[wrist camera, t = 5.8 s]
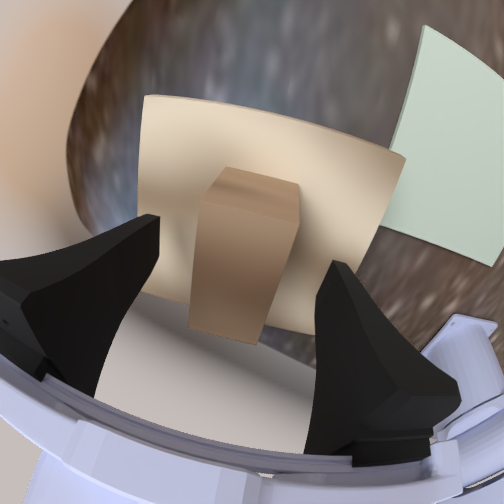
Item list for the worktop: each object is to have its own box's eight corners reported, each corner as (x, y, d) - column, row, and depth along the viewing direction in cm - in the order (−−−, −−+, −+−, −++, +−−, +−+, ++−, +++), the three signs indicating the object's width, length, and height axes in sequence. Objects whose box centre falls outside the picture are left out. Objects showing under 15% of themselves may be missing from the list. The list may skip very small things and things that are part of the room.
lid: (319, 326, 16) (320, 386, 13) (146, 282, 16) (115, 333, 13) (399, 154, 10) (445, 190, 7) (153, 94, 10) (93, 106, 7)
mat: (489, 264, 16) (491, 266, 16) (362, 216, 16) (363, 219, 16) (547, 126, 9) (550, 127, 9) (422, 25, 9) (425, 25, 9)
